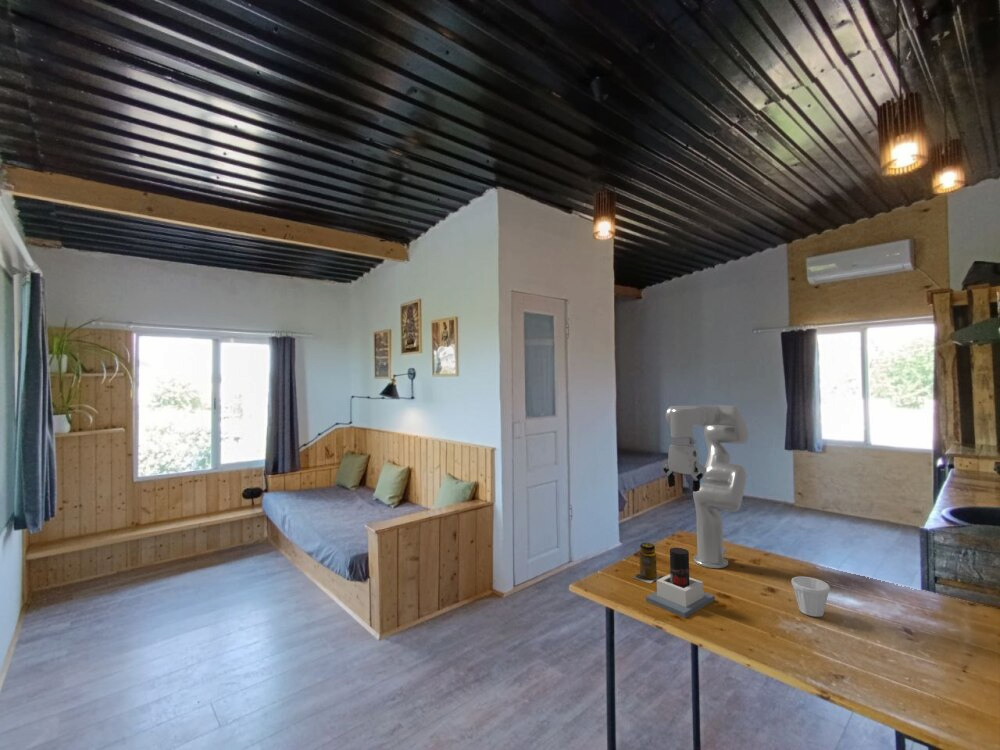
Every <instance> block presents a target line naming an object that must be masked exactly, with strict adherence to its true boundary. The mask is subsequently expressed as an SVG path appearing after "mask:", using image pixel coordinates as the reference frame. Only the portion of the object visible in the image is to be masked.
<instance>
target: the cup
mask: <svg viewBox="0 0 1000 750" xmlns="http://www.w3.org/2000/svg"><path fill="white" fill-rule="evenodd" d="M790 582H791V585H792V587H793V591H794V594H795V598H796V601H797V605H798V609H799V611H800V613H801V614H803V615H805V616H808V617H811V618H822V617H823V616H824V613H825V610H826V609H825V608H826V605H827V600H828V596H829V593H830V591H831V586H830V584H828V583H826V582H825V581H824V580H821V579H819V578H815V577H810V576H795V577H792V578H791V581H790ZM821 616H822V617H821Z"/></svg>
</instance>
